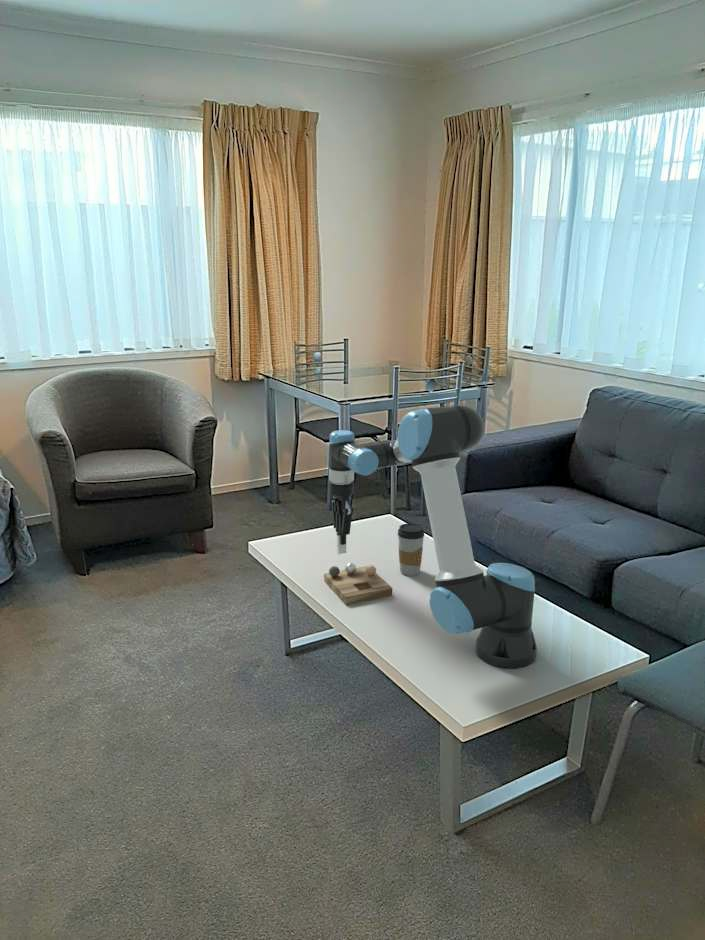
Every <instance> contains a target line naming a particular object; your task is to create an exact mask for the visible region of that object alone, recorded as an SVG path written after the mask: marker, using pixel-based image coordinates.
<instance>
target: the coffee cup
mask: <svg viewBox="0 0 705 940" xmlns="http://www.w3.org/2000/svg"><path fill="white" fill-rule="evenodd" d="M397 536H398V537H397V538H398V561H399V571H400V574H402V575H404V576H407V577H410V576H411V577H412V576H413V577H414V576H417V575H418V574H420V573H421V567H422V565H421V564H422V556H423V549H424V548H423V545H424V536H425V530H424V527H423V526H422V525H421V524H418V523H413V522H411V523H410V522H407V523H404V524H400V526H399V529H397Z"/></svg>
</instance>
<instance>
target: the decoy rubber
mask: <svg viewBox="0 0 705 940" xmlns="http://www.w3.org/2000/svg"><path fill="white" fill-rule="evenodd" d="M340 571H341V570H340V568H339V567H338V566H336V565H335V566H331V567H330V568H329V569H328V573H330V575H331V576H333V577H336V576H338V575H339V573H340Z"/></svg>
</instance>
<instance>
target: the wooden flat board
mask: <svg viewBox="0 0 705 940" xmlns="http://www.w3.org/2000/svg"><path fill="white" fill-rule="evenodd" d="M367 566H368V565H365V566H362V567H356V571H355V572H354V573H353V574H348V573H347V572H346V571H345V569H344V570H340V573H339V575H338V576H336V577H333V576H331V575H330V573H329V572H325V573H323V581H324V583H325V584H326V585H327V586H328V587H329V588H330V589H331V591H333V593H334V594H335V595H336V596H337V597H338V598H339V600H340V601H341V602H342V603H343V604H344V605H350V604H357V603H361V602H367V601H371V600H372V601H373V600H376V599H378V600H379V599H381V598H387V597H392V596H393V587H392V586H391V585H390V584H389V583H388V582H387V581H386V580H385V579H383V577H381V575H379V574H378V573H377V572H376V573H375V574H374V575H372V576H370V575H368V574H367V573H366V568H367Z"/></svg>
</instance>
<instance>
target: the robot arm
mask: <svg viewBox="0 0 705 940" xmlns="http://www.w3.org/2000/svg"><path fill="white" fill-rule="evenodd" d="M485 428H486V427H485V422H484V419H483V417H482V416H481V414H480V413H479V412H478V411H477V410H476V409H474V408H473V407H470V406H468V405H462V404H455V405H447V406H438V407H437V406H436V407H428V408H426V407H425V408H420V409H416V410H413V411H408V413H405V415H404V416H403V418H402V419H401V420H400V424H399V426H398V429H397V430H398V431H397V439H394V440H390V441H384V442H377V443H368V444H361V445H360V444H358V443H356V438H355V433H354V432H353V431H351V430H347V429H345V430H344V429H340V430H334V431H332V432H331V433H330V434H329V443H328V448H329V450H328V451H329V453H328V454H329V455H328V456H329V466H328V467H329V469H328V470H329V471H328V476H329V477H328V478H329V479H328V480H329V484H328V485H329V489H328V490H329V494H330V495H331V497H330V503H331V510H332V511H331V513H332V522H333V523H332V524H333V529H335V532H336V553H337V554H338V555H341V554H347V536H348V535H350V534H351V526H352V517H353V513H354V508H353V507H350V505H351V501H350V496H352V495H353V494H355V473H356V474H358V475H361V476H369V475H372V474H373V473H374V472H375V471H376V470H380V469H385V468H390V467H391V468H392V467H398V466H406V465H410V464H411V466H412V469H413V470H415V471H416V472H418V473H419V475H420V478H421V483H422V488H423V494H424V498H425V504H426V508H427V514H428V519H429V522H430V523H429V524H430V528H431V529H430V530H431V533H432V540H433V543H434V548H435V554H436V559H437V564H438V568H439V572H438V574H437V575H436V577H435V578H434V580H435V588H433V589H432V590H431V592H430V594H429V595H430V596H429V606H430V611H431V613H432V614H431V615H432V616H433V619H434V620H435V622H436V623H437V624H438V625H439V626H440V627H441V629H442V630H444V631H445V632H446V633H448V634H451V635H460V634H464V633H466V634H467V633H471V632H472V631H475V630H477V629H480V632H479V634H478V636H477V638H476V641H475V653H476V655H477V656H478V658H479V659H481V660H482V661H483V660H484V662H485V663H487V664H489V663H490V664H489V665H492V664H493V665H492V666H494V665H496V666H495V667H498V666H500V667H499V668H504V667H507V668H506V669H517V668H516V667H520V668H524V667H526V666H529V664H530V665H531V664H533V663H534V662H535V661H536V658H537V653H538V652H537V651H538V650H537V649H538V647H537V643H536V639H535V635H534V632H533V628H532V624H533V613H534V612H533V611H534V600H535V591H536V588H535V583H536V582H535V581H536V579H535V575H534V574H533V572H531V571H530V570H528V569H527V568H525V567H523V566H520V565H517V564H512V563H509V562H508V563H507V562H494V563H491V564H489V565H488V567H487V569H486V575H485V574H484V570H483V569H482V568H481V567H479V566H477V565H476V563H475V559H474V554H473V553H474V552H473V548H472V543H471V538H470V533H469V528H468V523H467V518H466V513H465V508H464V504H463V503H464V502H463V499H462V495H461V494H462V492H461V488H460V483H459V478H458V474H457V468H456V467H457V466H456V465H457V464H458V463H459V461H460V460H461V456H460V453H462V452H466V451H469V450H472V449H473V448H475V447H477V446H478V445H479V444H480V443H481V441H482V440H483V438H484V435H485ZM532 662H533V663H532Z"/></svg>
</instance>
